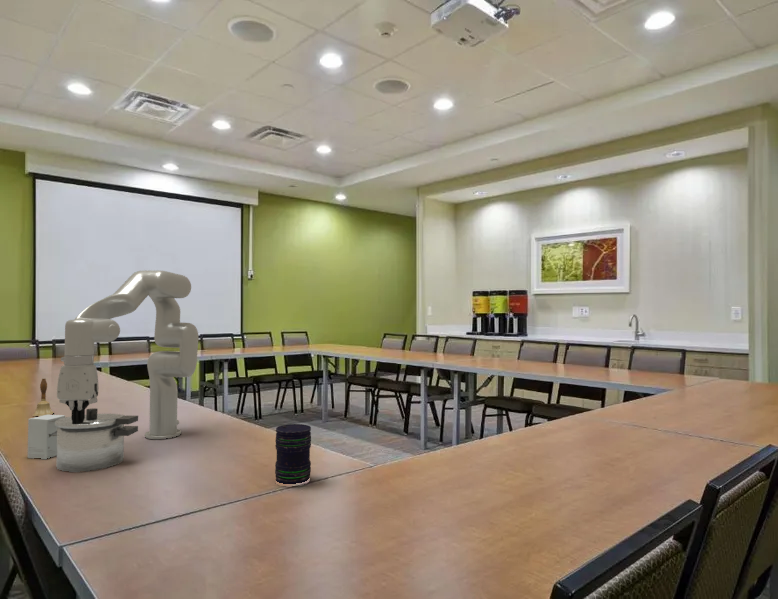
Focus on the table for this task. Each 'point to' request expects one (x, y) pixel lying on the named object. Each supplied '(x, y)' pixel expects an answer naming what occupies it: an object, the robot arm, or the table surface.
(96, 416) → the cooker lid
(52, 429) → the supplement box
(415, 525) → the table surface
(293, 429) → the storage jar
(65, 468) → the cooker pot
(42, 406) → the hand bell
